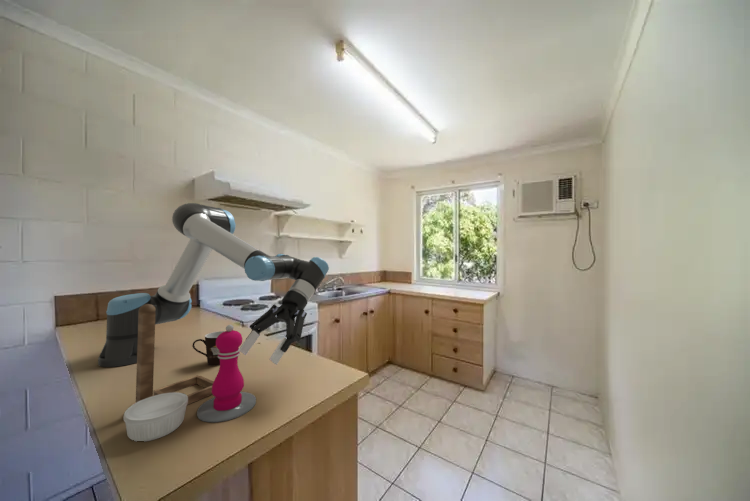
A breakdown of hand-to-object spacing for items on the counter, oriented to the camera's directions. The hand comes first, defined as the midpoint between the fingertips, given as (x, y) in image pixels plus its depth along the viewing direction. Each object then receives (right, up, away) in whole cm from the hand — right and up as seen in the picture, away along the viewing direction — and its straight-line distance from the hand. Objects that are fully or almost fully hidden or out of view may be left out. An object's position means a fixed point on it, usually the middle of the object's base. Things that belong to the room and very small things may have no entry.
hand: (256, 357), depth 75 cm
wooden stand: (-20, -10, -4) cm, 23 cm away
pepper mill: (-4, -9, -7) cm, 12 cm away
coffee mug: (-25, -11, +22) cm, 35 cm away
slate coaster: (-4, -10, -7) cm, 13 cm away
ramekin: (-15, -10, -16) cm, 24 cm away
